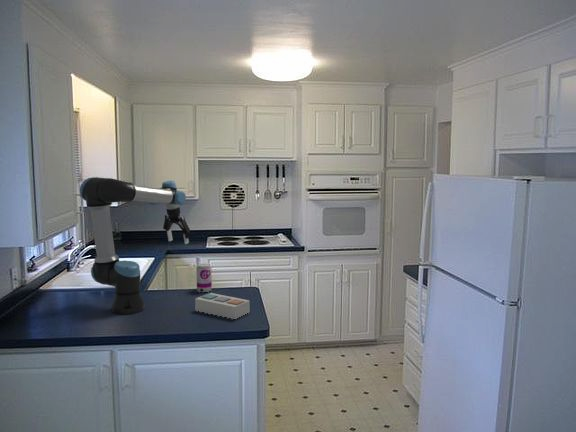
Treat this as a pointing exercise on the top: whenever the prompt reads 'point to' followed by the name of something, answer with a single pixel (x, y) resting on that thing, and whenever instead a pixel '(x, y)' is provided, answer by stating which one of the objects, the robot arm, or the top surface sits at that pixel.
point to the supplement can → (204, 278)
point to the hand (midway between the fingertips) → (178, 242)
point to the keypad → (222, 307)
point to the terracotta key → (235, 302)
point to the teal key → (209, 296)
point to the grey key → (222, 299)
